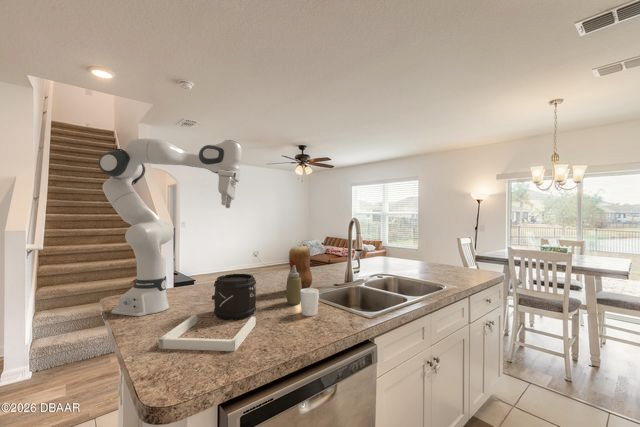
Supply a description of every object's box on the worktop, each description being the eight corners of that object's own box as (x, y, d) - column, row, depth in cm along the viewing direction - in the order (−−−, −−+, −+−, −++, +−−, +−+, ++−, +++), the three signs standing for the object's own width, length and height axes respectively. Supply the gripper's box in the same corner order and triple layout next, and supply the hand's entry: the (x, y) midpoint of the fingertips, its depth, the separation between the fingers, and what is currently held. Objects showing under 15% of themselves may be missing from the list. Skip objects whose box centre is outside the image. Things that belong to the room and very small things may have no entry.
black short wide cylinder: (212, 309, 134) (212, 274, 134) (253, 305, 140) (253, 272, 139) (211, 323, 117) (211, 283, 117) (257, 319, 122) (257, 280, 122)
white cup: (321, 312, 131) (321, 289, 131) (313, 317, 124) (313, 293, 124) (305, 309, 134) (305, 287, 134) (297, 315, 127) (297, 291, 127)
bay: (158, 348, 96) (158, 339, 96) (193, 322, 118) (193, 314, 118) (235, 351, 94) (235, 341, 94) (255, 324, 116) (255, 316, 116)
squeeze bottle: (305, 303, 144) (306, 265, 144) (293, 306, 138) (293, 267, 138) (294, 299, 149) (294, 263, 149) (281, 303, 143) (282, 265, 143)
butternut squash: (282, 291, 165) (282, 245, 165) (301, 287, 174) (301, 244, 174) (298, 296, 155) (299, 248, 155) (317, 291, 164) (317, 246, 164)
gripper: (226, 180, 145) (222, 208, 143) (217, 169, 125) (213, 202, 123) (239, 181, 145) (236, 210, 144) (232, 171, 125) (229, 204, 124)
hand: (225, 206), depth 133 cm, fingers open, 8 cm apart
